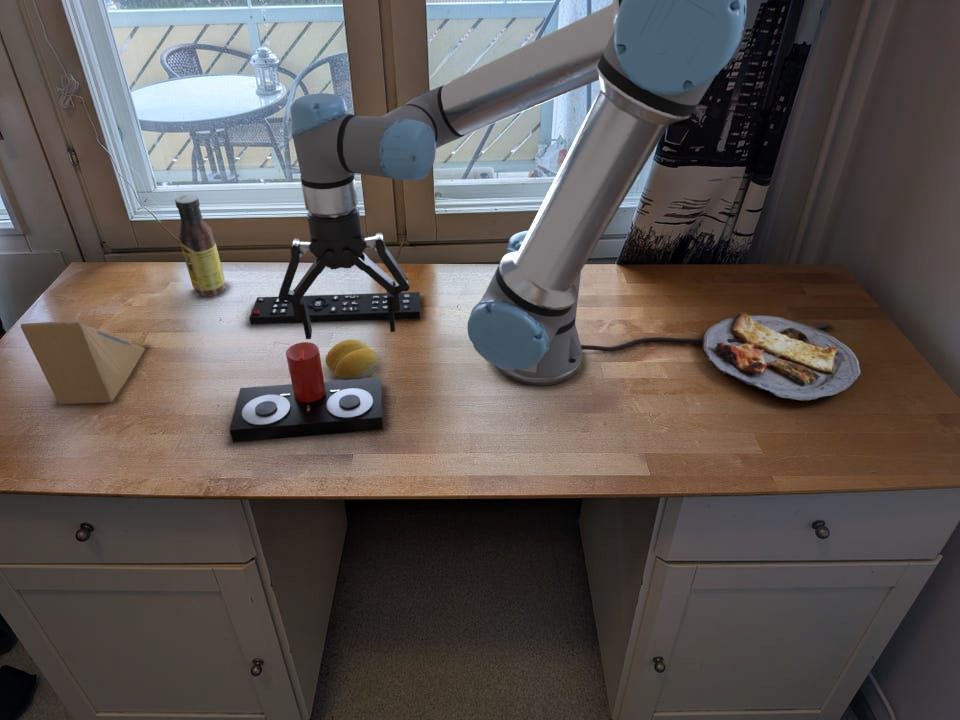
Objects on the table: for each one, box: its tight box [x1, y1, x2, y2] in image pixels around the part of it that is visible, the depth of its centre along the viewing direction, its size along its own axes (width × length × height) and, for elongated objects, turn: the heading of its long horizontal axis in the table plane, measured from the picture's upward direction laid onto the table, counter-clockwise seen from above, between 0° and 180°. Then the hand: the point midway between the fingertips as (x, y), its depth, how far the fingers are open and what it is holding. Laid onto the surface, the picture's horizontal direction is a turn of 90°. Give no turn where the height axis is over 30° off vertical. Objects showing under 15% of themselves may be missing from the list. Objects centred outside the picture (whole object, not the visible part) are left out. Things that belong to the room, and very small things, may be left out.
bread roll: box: [325, 339, 379, 380], centre depth 110 cm, size 8×9×4 cm
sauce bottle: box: [174, 194, 226, 297], centre depth 126 cm, size 7×6×20 cm
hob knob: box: [285, 341, 326, 403], centre depth 99 cm, size 5×5×8 cm
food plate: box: [701, 311, 862, 401], centre depth 112 cm, size 25×23×4 cm
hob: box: [228, 377, 384, 444], centre depth 101 cm, size 22×12×3 cm, turn 98°
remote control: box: [249, 291, 421, 326], centre depth 125 cm, size 8×32×2 cm, turn 94°
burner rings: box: [242, 388, 373, 426], centre depth 98 cm, size 19×7×1 cm, turn 98°
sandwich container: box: [20, 321, 146, 405], centre depth 104 cm, size 9×15×15 cm, turn 4°
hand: (351, 331), depth 107 cm, fingers open, 13 cm apart
